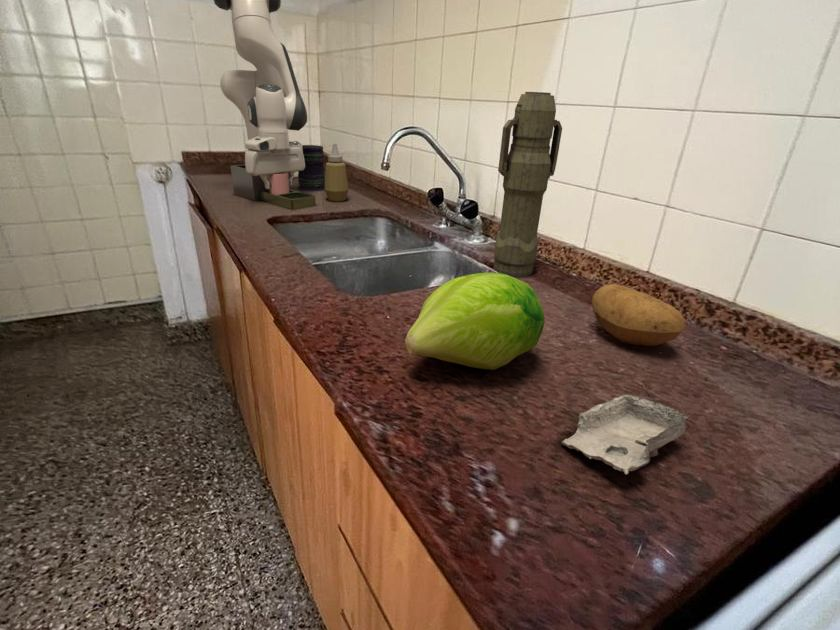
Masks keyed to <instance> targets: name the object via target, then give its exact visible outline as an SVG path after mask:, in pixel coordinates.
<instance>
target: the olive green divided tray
mask: <svg viewBox="0 0 840 630" xmlns="http://www.w3.org/2000/svg"><path fill="white" fill-rule="evenodd" d="M289 190H290V193H285V194H278V195H275V194H271V193H269V190H263V191H260V199H261V201H263V202H266V203H270V204H273V205H277V206H280V207H282V208H286V209H290V210H297V209H303V208H308V207H313V206H316V204H317V203H316V195H313V194H310V193H306V192H301V191H297V190H293V189H290V188H289Z"/></svg>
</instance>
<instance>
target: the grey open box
mask: <svg viewBox="0 0 840 630" xmlns="http://www.w3.org/2000/svg"><path fill="white" fill-rule="evenodd" d="M229 167H230V175H231V180H232V187H233V194H234V196H239V197H242V198H245V199H248V200H251V201H260V200H261V199H260V191H263V190H269V189H266V188H265V183H264V182H263V180H262V179H261V176H260V175H258V176H253V175H249V174H248V173H247V171H246V166H245V164H235V165H230V166H229ZM267 180H268V178H267ZM261 201H262V200H261Z"/></svg>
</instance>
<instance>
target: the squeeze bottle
mask: <svg viewBox="0 0 840 630" xmlns="http://www.w3.org/2000/svg"><path fill="white" fill-rule="evenodd" d="M331 147H332V148H331V154H329V155H328V156H327V159H328V160H327V161H328V162H326V163H325V170H324V174H325V182H324V183H325V189H324V192H325V195H326V197H327V200H328V201H331V202H343V201H346V199H347V197H348V193H349V182H348V175H347V167H346V163H345V162H343V155H340V152H339V148H338V144H337V143H333V144H332V146H331Z"/></svg>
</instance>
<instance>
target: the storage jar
mask: <svg viewBox="0 0 840 630" xmlns="http://www.w3.org/2000/svg"><path fill="white" fill-rule="evenodd" d="M301 145H302V147H303V155H304V160H305V169H304V170H303V171H298V172H299V173H298V177H297V180H298V185H299V186H298V189H299V190H301V191H304V192H320V191H323V190H324V191H325V170H324V169H325V168H324V164H325V157H324V156H325V154H324V146H322V145H317V144H301Z"/></svg>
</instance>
